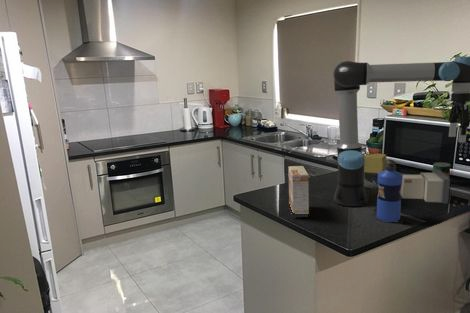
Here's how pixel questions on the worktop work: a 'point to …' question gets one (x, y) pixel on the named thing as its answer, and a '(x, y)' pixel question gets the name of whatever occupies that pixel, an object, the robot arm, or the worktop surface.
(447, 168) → the canned tomato
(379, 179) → the water bottle
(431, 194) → the beige stepped block
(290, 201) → the coffeecake box
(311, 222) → the worktop surface
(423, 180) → the beige box
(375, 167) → the cheese
